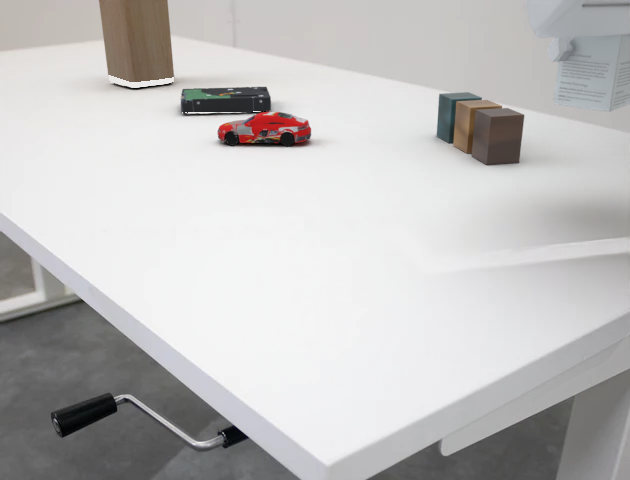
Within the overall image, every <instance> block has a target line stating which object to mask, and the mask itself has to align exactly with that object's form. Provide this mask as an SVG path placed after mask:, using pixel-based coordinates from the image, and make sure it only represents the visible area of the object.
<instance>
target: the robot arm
mask: <svg viewBox="0 0 630 480" xmlns="http://www.w3.org/2000/svg"><path fill="white" fill-rule="evenodd" d="M525 11H526V15H527V18H528V21H529V24H530V27H531V29H532V31H533V33H534V35H536V36H537V38H539V39H540V38H541V39H547V38H553V39H552V40H551V42H550V43H549V45H548V47H547V54H548V57H549V60H550V62H551V63H559V61H567V60H568V57H569V56H571V55H572V53H573V52H574V50H573V47H572V45H571V44H570V42H571V41H570V40H573V39H574V37H576V36H605V35H630V0H525Z"/></svg>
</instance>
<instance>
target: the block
mask: <svg viewBox="0 0 630 480" xmlns="http://www.w3.org/2000/svg"><path fill="white" fill-rule="evenodd" d="M98 3H99V12H100V20H101V28H102V29H101V30H102V37H103V45H104V51H105V60H106V69H107V76H108V75H111V76H114V77H117V78H120V79H123V80H126V81H129V82H141V81H150V80H159V79H165V78H172V77H174V78H175V73H174V72H175V71H174V70H175V69H174V60H173V59H174V58H173V48H172V47H173V45H172V36H171V27H170V26H171V25H170V13H169V2H168V0H98Z"/></svg>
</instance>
